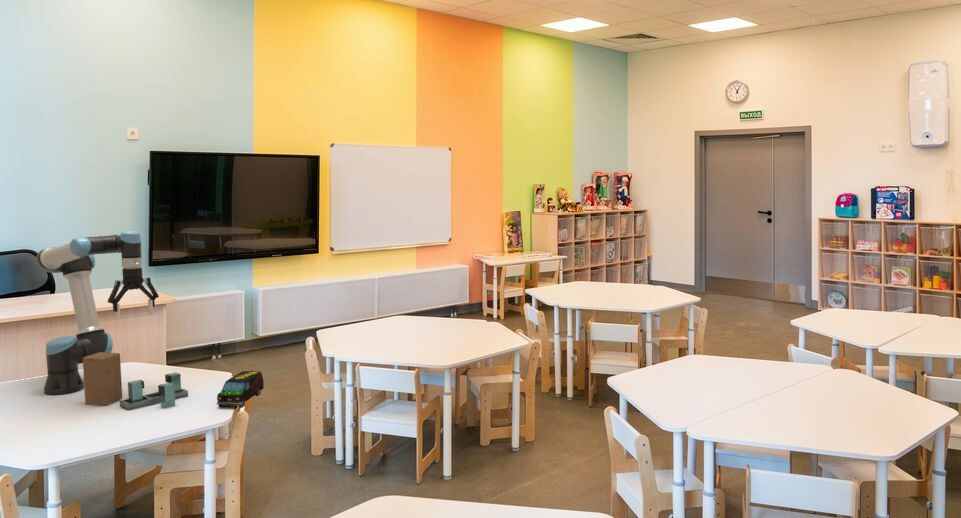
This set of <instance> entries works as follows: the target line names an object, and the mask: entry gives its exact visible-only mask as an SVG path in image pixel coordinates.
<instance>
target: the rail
mask: <svg viewBox="0 0 961 518" xmlns="http://www.w3.org/2000/svg"><path fill="white" fill-rule="evenodd" d="M164 379H165V381H164V382H165V383H172V384H174V391H175V400H178V399H183V398H187V397H189V391H188V390H187V389H184V388H182V382H181V381H182V380H181V373H179V372H171V373H170V372H169V373H167V374H165V375H164ZM156 404H157V405H158V404H161V394H160V393H159V392H158V391H157V392H151V393H148V394H143V400H142V401H138V402H133V403H129V398H125V399H120V400H119V407H120V408H121V409H124V410H126V411H132V410H135V409H141V408H144V407H145V408H146V407H149V406H152V405H153V406H154V405H156Z"/></svg>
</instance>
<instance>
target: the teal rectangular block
mask: <svg viewBox="0 0 961 518" xmlns="http://www.w3.org/2000/svg"><path fill="white" fill-rule="evenodd" d="M143 389H145V381H144V380H142V379H137V380H132V381H128V382H127V390H128V392H127V393H128V399H129V403H133V402H138V401H142V400H143V395H144V393H143Z"/></svg>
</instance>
